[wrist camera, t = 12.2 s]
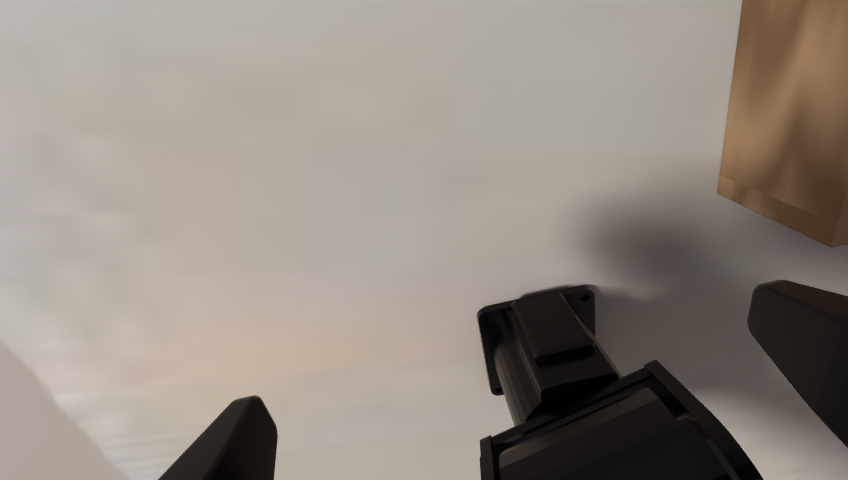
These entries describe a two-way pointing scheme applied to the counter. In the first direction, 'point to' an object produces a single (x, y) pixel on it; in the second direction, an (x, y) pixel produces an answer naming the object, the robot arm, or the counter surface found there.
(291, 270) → the counter surface
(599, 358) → the robot arm
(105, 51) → the counter surface
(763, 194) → the box
